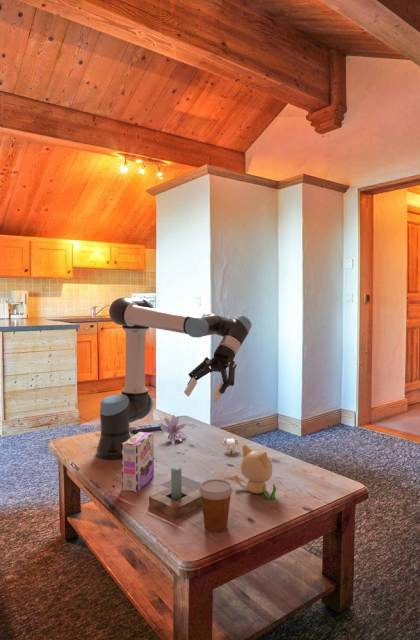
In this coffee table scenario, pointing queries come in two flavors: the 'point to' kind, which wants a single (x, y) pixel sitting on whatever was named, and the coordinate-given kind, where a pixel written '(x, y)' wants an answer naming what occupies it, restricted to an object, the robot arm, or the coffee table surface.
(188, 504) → the hole block
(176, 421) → the water lily
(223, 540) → the coffee table surface
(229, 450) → the elephant figurine
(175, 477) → the peg
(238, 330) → the robot arm
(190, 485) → the mat
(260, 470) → the kitten
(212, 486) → the disposable coffee cup
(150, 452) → the candy box
